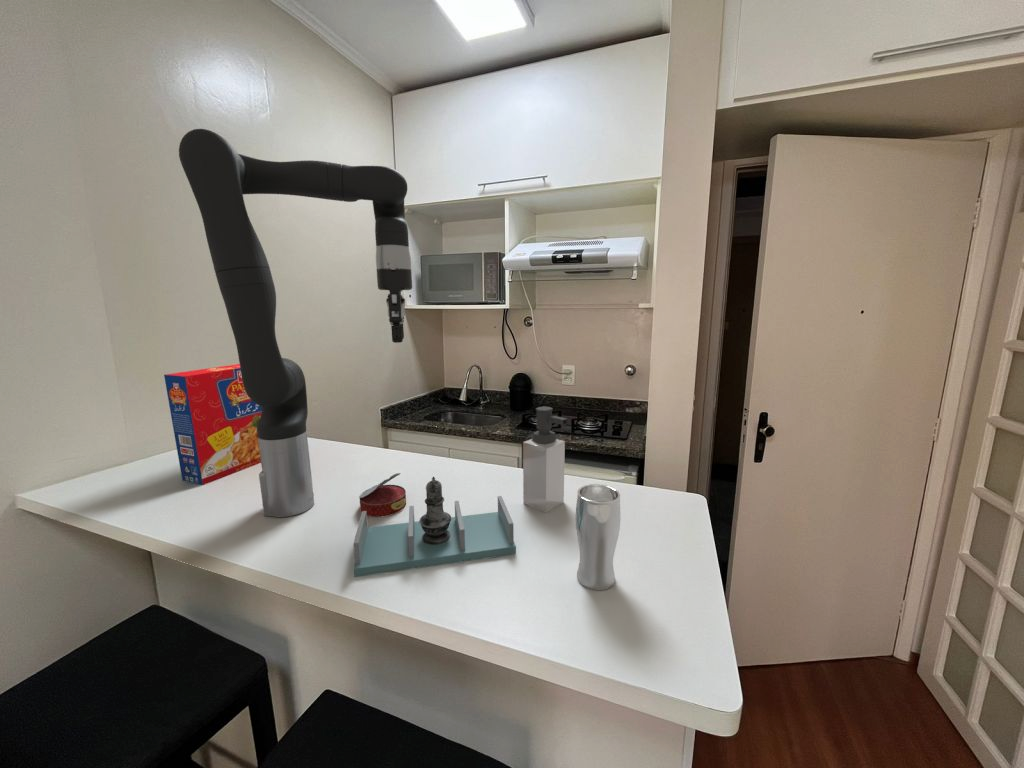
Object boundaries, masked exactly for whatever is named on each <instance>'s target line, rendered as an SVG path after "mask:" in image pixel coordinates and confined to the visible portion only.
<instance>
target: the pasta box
mask: <svg viewBox="0 0 1024 768" xmlns="http://www.w3.org/2000/svg"><path fill="white" fill-rule="evenodd" d="M163 377H164V381H165V382H164V384H165V389H166V395H167V400H168V405H169V412H170V417H171V423H172V427H173V428H172V429H173V435H174V441H175V446H176V452H177V456H178V463H179V469H180V475H181V481H182V482H187V483H191V484H195V485H199V486H204V485H207V484H210V483H212V482H215V481H218V480H220V479H223V478H225V477H229V476H230V475H233V474H236V473H238V472H241V471H243V470H246V469H248V468H251V467H253V466H257V465H259V464H261V457H260V450H259V443H258V435H257V424H258V422H259V419H260V417H261V414H262V406H260V405H258V404H256V403H254V402H253V401H252V400H251V399H250V398H249V396H248V395H247V393H246V391H245V389H244V385H243V381H242V375H241V369H240V363H237V364H231V365H229V364H228V365H224V366H217V367H210V368H202V369H195V370H189V371H188V370H187V371H180V372H174V373H166V374H163Z"/></svg>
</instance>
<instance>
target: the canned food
mask: <svg viewBox="0 0 1024 768" xmlns="http://www.w3.org/2000/svg"><path fill="white" fill-rule="evenodd" d="M399 475H401V473H400V472H399V473H395V474H393V475H391V476H390V477H389V478H387V479H384V480H383V481H382V482H380V483H378V484H376V485H374V486H371V487H370V488H368V489H366V490H365V491H363V492H362V493H361V494H360V495H359V496H358V497H359V498H358V499H359V505H360V506H359V508H360V512H361V513H362V511H367V517H370V516H371V518H383V517H387V516H393V515H395V514H397V513H399V512H401V511H402V510H403V509H405V507H407V506H406V505H407V495H406V489H405V488H404V487H402V486H401V485H398V484H387V483H388V482H390V481H391V480H393V479H394V478H396V477H398V476H399ZM382 516H383V517H382Z"/></svg>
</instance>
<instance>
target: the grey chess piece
mask: <svg viewBox="0 0 1024 768" xmlns="http://www.w3.org/2000/svg"><path fill="white" fill-rule="evenodd" d="M442 487H443V485H442V483H441V482H440V481H439V480H437V479H436V477H435V476H432V478H431V481H429V482H427V483H426V486H425V491H426V492H425V493H426V498H425V500H424V503H425V504H426V512H425V514H423V515H422V516H421V517H420V518H419V520H418V521H419V523H420V524H421V526H422V529H423V531H424V532H425V533H424V534H423V535H422V540H423V542H425V543H426V544H431V545H437V544H441V543H444V542H446V541H447V540H449V538H450V532H449V531H447V529H448V527H449V524H450V521H451V517H452V516H451V514H450V513H448V512H446V511H444V504H443V503H444V502H445V497H444V496H443V490H442V489H443V488H442Z"/></svg>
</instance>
